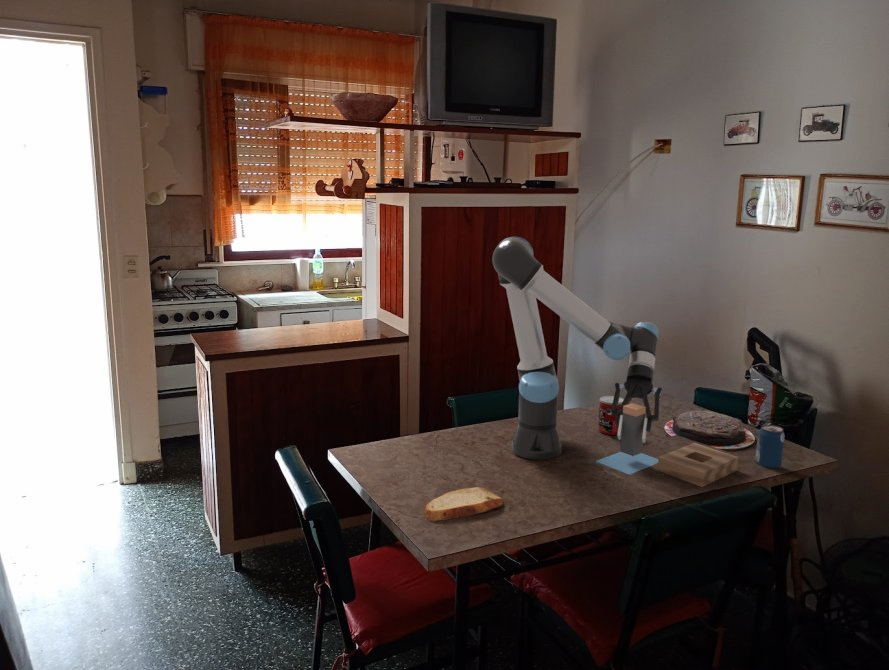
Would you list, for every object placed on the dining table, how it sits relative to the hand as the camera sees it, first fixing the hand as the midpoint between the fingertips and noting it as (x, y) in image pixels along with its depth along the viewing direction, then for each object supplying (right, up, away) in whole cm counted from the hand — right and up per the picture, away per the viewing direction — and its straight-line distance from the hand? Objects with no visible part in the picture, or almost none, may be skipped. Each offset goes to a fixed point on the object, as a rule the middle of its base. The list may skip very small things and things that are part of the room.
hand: (631, 438), depth 202 cm
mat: (+1, -8, +5) cm, 10 cm away
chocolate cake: (+33, -4, +30) cm, 45 cm away
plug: (+1, -4, +4) cm, 6 cm away
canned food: (+2, -2, +32) cm, 33 cm away
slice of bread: (-48, -15, -23) cm, 55 cm away
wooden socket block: (+19, -10, -1) cm, 21 cm away
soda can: (+41, -9, +5) cm, 43 cm away
